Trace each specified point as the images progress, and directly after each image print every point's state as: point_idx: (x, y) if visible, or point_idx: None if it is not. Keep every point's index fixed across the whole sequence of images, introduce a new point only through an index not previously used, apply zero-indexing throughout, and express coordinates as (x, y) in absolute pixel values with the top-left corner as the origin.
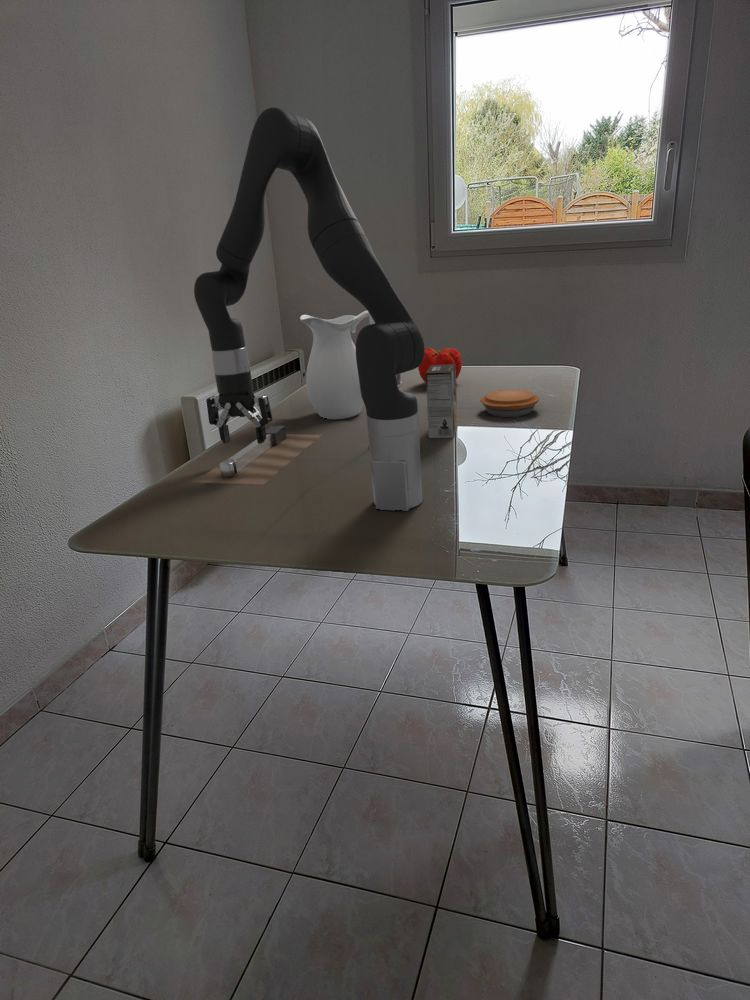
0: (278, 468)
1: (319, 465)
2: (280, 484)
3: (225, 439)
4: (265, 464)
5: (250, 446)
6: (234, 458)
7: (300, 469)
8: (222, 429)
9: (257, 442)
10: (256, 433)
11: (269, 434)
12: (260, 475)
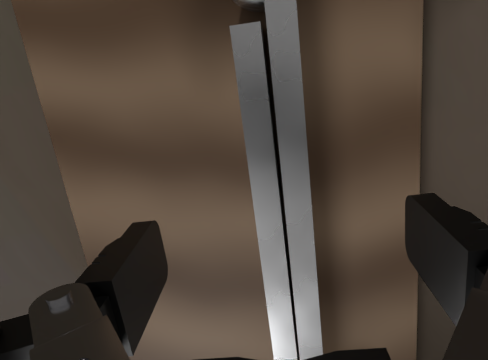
0: (69, 142)
1: (3, 267)
2: (2, 28)
3: (417, 207)
4: (169, 181)
5: (294, 283)
6: (260, 64)
7: (45, 215)
8: (470, 242)
9: (287, 338)
10: (129, 254)
11: None
12: (90, 29)
